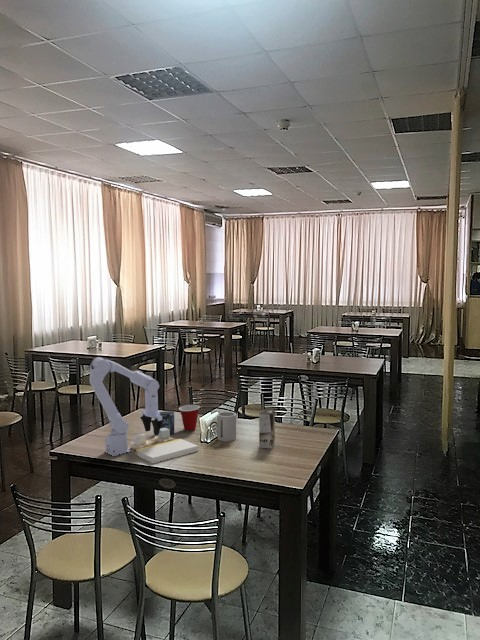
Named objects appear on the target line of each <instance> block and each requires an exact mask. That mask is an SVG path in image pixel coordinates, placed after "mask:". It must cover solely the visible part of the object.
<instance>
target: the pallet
mask: <svg viewBox="0 0 480 640" xmlns="http://www.w3.org/2000/svg"><path fill="white" fill-rule="evenodd" d="M173 440H175V439H174V438H173V437H171V436H170V438H167V439H160V438H158V435H154V437H153V438H149V439H146V444H142V445H136V444H134V441H131V442H129V449H130V448H132V449H134V450H137V449H141V448H145V447H149V446H153V445H157V444H161V443H165V442H169V441H173ZM132 449H131V450H132ZM134 450H133V451H134Z"/></svg>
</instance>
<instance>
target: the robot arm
mask: <svg viewBox="0 0 480 640" xmlns="http://www.w3.org/2000/svg"><path fill="white" fill-rule="evenodd" d="M113 372H116V373H118V374H120V375H123V376H125V377H126V378H129V380H130V382H131V383H132V384H135V385H137V386H139V387H141V388H143V389H144V402H145V403H144V405H145V409H144V410H141V416H140V417H139V418H140V420H141V422H142V424H143V427H144V431H145V432H150V431H151V428H152V429H153V435H154V436H158V434H159V432H160V428H161V425H162V423H163V419H162V416H161V415H160V412H161V411H159V396H158V395H159V394H158V390H159V389H160V384H159V382H158V380H156V379H154V378H153V377H152V376H151V375H147V374H145V373H143V371H141V370H133V371H132V370H130V369H129V368H127V367H124V366H122V365H121V364H120V363H117V362H116V361H113V360H110V359H107V358H103V357H102V356H101V357H100V356H97V357H95V358H93V359H92V361H91V363H90V365H89V384H90V385H91V387H92V389H93V391H94V393H95V396H96V397H97V398H98V400H99V402H100V404H101V406H102V408H103V410H104V411H105V413H106V416H107V418H108V421H109V426H110V428H111V430H110V433H109V434H107V435H106V436H105V438H104V453H105V452H106V454H107V453H108V454H107V455H109V454H110V456H111V455H112V456H111V457H115V456H120V455H124V454H127V453H126V452H128V453H131V452H132V449H130V448H128V430H129V426H130V425H129V423H128V422H127V421H126V420H125V419H124V418H123V416H122V415H121V413H120V412H119V410H118V409H117V406H116V405H115V403H114V401H113V399H112V398H111V396H110V394H109V392H108V390H107V389H106V386H105V385H104V383H103V381H104V379H105V377H106V376H107V375H108V373H113ZM151 426H152V427H151ZM130 451H131V452H130ZM123 453H124V454H123ZM119 454H120V455H119Z"/></svg>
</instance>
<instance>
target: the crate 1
mask: <svg viewBox="0 0 480 640" xmlns="http://www.w3.org/2000/svg"><path fill="white" fill-rule="evenodd" d="M146 440H147V434H145V433H142V432H140V433H137V434H133V442H134V444H136V445H142V444H146Z"/></svg>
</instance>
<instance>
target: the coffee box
mask: <svg viewBox="0 0 480 640" xmlns="http://www.w3.org/2000/svg"><path fill="white" fill-rule="evenodd" d="M258 415H259V417H258V418H259V420H258V421H259V425H258V429H259V430H258V432H259V436H258V447H259V449H273V447H274V445H275V443H276V442H275V441H276V431H275V430H276V427H275V426H276V423H275V422H276V419H275V418H276V416H275V415H276V410H275V409H269V408H268V409H264V408H263V409H261V411H260V412H259V414H258Z"/></svg>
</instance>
